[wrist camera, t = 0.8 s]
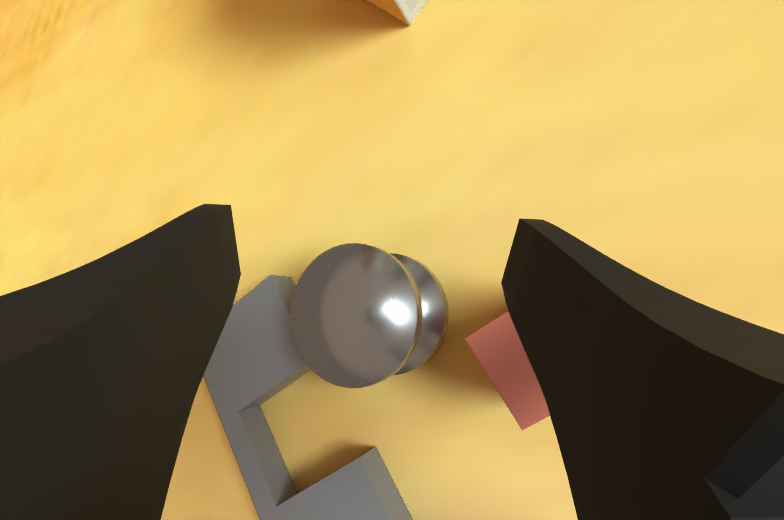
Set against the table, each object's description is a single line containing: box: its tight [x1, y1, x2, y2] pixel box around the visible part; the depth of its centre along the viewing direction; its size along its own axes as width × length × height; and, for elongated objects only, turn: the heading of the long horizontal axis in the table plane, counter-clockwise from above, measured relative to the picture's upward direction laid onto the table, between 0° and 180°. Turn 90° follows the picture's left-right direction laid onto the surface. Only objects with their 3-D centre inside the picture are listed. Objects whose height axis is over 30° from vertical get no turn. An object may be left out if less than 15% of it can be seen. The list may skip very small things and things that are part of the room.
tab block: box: [465, 311, 550, 430], centre depth 19 cm, size 4×4×6 cm
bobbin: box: [291, 243, 448, 388], centre depth 23 cm, size 7×7×5 cm
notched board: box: [203, 275, 413, 520], centre depth 26 cm, size 18×8×2 cm, turn 33°
